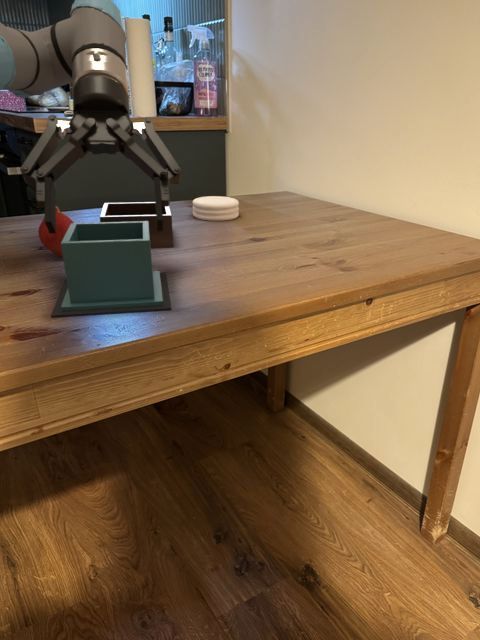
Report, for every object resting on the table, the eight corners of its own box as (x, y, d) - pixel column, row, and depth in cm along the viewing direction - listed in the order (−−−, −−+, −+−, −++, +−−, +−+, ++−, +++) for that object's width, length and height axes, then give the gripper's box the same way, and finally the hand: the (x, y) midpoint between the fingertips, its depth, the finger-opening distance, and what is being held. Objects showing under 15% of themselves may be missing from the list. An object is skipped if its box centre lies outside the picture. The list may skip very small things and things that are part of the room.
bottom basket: (107, 233, 94) (103, 202, 91) (169, 231, 96) (168, 201, 93) (103, 250, 84) (99, 217, 81) (173, 248, 86) (171, 215, 83)
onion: (35, 259, 78) (25, 207, 75) (60, 250, 83) (51, 201, 80) (65, 264, 77) (56, 211, 73) (89, 254, 82) (81, 204, 78)
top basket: (73, 278, 70) (63, 221, 66) (159, 274, 72) (155, 219, 69) (61, 311, 59) (49, 246, 56) (163, 305, 62) (158, 242, 58)
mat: (66, 279, 71) (65, 276, 70) (166, 274, 74) (165, 271, 73) (51, 318, 59) (50, 315, 58) (171, 311, 61) (171, 308, 61)
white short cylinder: (246, 219, 107) (247, 202, 105) (203, 223, 102) (203, 206, 101) (226, 210, 114) (226, 194, 113) (186, 213, 110) (185, 197, 108)
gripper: (-4, 68, 64) (-9, 211, 58) (190, 76, 69) (204, 208, 63) (13, 112, 71) (11, 243, 65) (189, 116, 76) (201, 239, 70)
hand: (106, 227), depth 64 cm, fingers open, 13 cm apart
